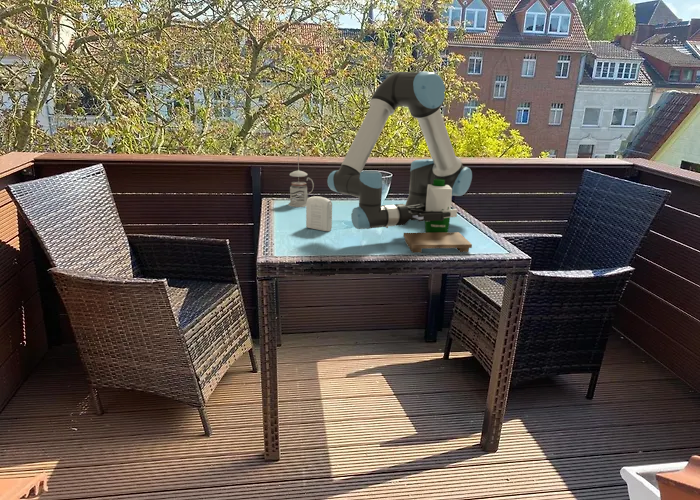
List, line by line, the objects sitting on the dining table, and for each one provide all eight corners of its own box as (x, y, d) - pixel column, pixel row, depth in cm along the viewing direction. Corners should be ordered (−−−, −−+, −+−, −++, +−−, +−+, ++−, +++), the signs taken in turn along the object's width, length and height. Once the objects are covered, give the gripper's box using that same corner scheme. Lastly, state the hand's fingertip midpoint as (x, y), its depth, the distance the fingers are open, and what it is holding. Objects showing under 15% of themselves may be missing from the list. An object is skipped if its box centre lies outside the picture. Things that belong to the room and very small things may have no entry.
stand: (458, 240, 176) (458, 232, 175) (471, 253, 163) (471, 244, 162) (403, 240, 174) (403, 232, 173) (411, 253, 161) (412, 245, 160)
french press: (289, 201, 228) (288, 146, 220) (314, 202, 228) (314, 147, 220) (286, 206, 219) (285, 149, 211) (312, 207, 219) (312, 150, 211)
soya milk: (445, 231, 187) (450, 178, 181) (450, 238, 178) (455, 183, 172) (422, 230, 187) (426, 178, 181) (425, 237, 178) (429, 182, 172)
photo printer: (333, 229, 186) (334, 197, 182) (327, 232, 182) (328, 199, 178) (310, 225, 191) (310, 194, 187) (304, 228, 187) (304, 196, 183)
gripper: (380, 218, 182) (433, 213, 191) (409, 233, 164) (465, 227, 173) (381, 198, 180) (434, 194, 189) (410, 211, 162) (467, 206, 171)
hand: (449, 210), depth 181 cm, fingers closed on soya milk, 8 cm apart
